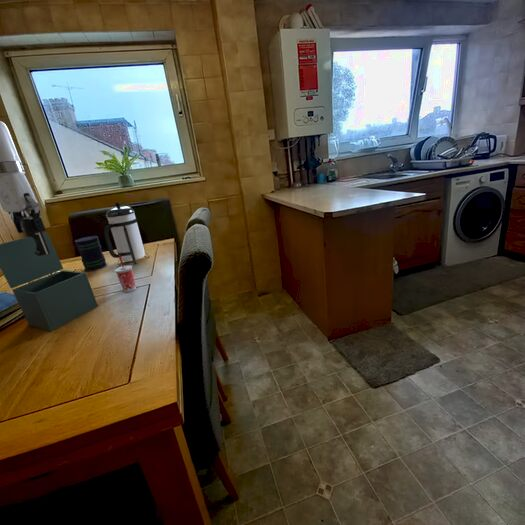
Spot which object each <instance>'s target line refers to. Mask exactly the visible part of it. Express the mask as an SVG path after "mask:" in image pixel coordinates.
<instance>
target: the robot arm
mask: <svg viewBox="0 0 525 525" xmlns="http://www.w3.org/2000/svg"><path fill="white" fill-rule="evenodd" d="M25 174H26V172H25V169H24V166H23V163H22V161H21V158H20V156H19V154H18V151H17V148H16V145H15V143H14V140H13V137H12V135H11V133H10V130H9V128H8V126H7V125H6V124H5V122H4V121H1V120H0V206H1V208H2V211H4V212H6V213H7V214H8V215H10V218H11V220H12V222H13V224H14V227H15V228H16V231H17V233H18V234H23V231H22V229H21V226H20V223H19V222H20V220H21V219H23V218H25V215H26V218H29V219H30V220H28V222H29V225H30V227H31V229H32V232H33V233H39V232H42V233H44V232H45V231H46V227H45V224H44V221H43V220H42V215H41V210H40V207H41V206H40V203H39V202H38V201H37V198H36V196H35V193H34V191H33V189H32V187H31V184H30V182H29V181H28V179H27V177H26V175H25Z"/></svg>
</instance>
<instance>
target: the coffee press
mask: <svg viewBox="0 0 525 525" xmlns="http://www.w3.org/2000/svg"><path fill="white" fill-rule="evenodd" d="M114 205H115V206H116V207H112V208H110V209H108V210H107V211H106V214H105V217H106V218H107V221H108V224H107V225H106V226H105V227H104V229H103V237H104V241H105V244H106V247H107V250H108V253H109V255H110V256H111V257H112V258H114V259H118V261H117V264H118V265H122V264H121V262H120V258H119V256H121V260H122V263H123V262H125V263H127V262H132V264H133V265H137V261H138V260H141V259H142V258H144V257H145V258H146V259H148V258H150V255H149V254H148V252H146V249H145V245H144V241H143V238H142V235H141V230H140V227H139V224H138V220H137V217H136V214H135V212H136V211H135V210H134V208H132V207H131V206H127V205H126V206H121V203H120V202H119V201H116V202H115V203H114ZM109 232H111V236H112V238H113V241H114V245H115V249H116V252H117V253H116V252H115V250H114V247H113V244H112V242H111V238H110V235H109V234H110V233H109ZM146 255H148V256H146Z"/></svg>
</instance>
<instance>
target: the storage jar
mask: <svg viewBox="0 0 525 525" xmlns="http://www.w3.org/2000/svg"><path fill="white" fill-rule="evenodd" d="M74 242H75V245H76V248H77V251H78V253H79V255H80V257H81V262H82V266H83V267H84V269H85V271H86V272H93V271H97V270H101V269H104V268H105V267H107V261H106V257H105V255H104V253H103V251H102V245H101V242H100V239H99V237H98V235H89V236H85V237H84V236H83V237H81V238H77V239H75V240H74Z"/></svg>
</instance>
